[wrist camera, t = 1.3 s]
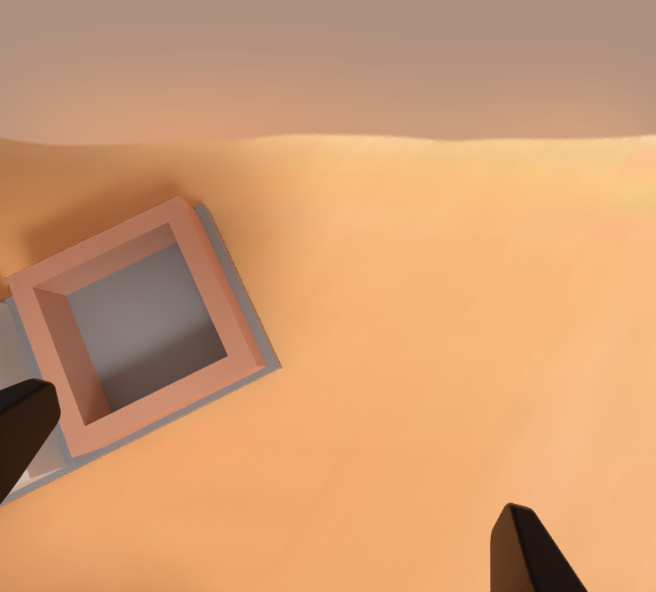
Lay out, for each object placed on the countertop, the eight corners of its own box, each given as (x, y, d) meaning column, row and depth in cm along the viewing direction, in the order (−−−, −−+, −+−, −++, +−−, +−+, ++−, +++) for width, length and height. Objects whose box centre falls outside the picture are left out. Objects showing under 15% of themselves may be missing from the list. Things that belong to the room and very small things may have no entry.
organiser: (282, 367, 23) (270, 367, 20) (-91, 552, 22) (-172, 585, 19) (209, 210, 25) (186, 184, 21) (-142, 378, 24) (-225, 381, 20)
